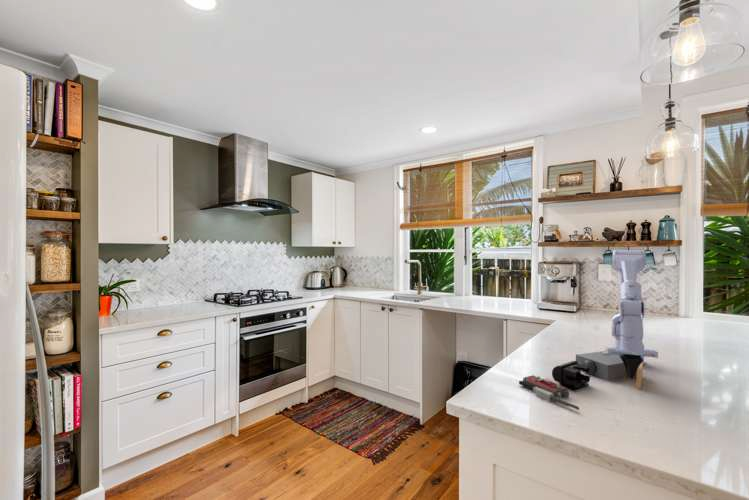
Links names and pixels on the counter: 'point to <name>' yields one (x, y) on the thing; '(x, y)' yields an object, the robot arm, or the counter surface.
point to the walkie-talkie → (547, 389)
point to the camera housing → (603, 365)
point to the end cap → (571, 375)
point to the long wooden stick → (639, 375)
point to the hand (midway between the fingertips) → (630, 377)
